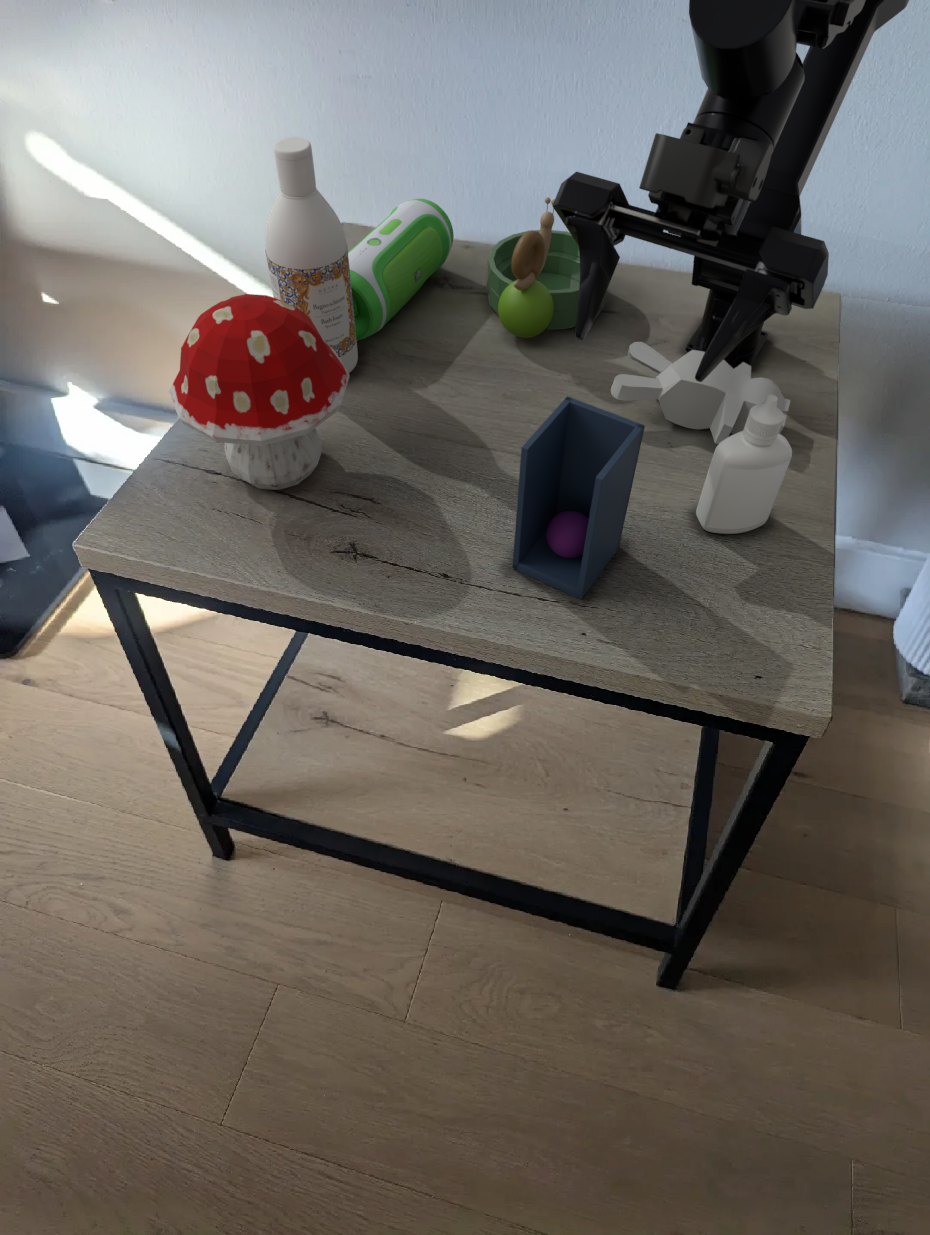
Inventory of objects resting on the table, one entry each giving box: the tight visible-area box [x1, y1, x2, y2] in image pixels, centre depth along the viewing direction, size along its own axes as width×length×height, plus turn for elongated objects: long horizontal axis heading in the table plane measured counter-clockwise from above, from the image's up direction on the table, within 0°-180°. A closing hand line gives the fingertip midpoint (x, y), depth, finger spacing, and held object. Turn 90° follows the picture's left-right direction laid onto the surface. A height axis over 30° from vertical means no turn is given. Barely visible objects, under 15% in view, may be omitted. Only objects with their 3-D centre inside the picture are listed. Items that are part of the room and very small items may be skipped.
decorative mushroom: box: [168, 293, 350, 491], centre depth 68 cm, size 14×14×15 cm
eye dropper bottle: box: [695, 395, 793, 535], centre depth 66 cm, size 4×6×12 cm
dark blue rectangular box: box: [512, 396, 646, 600], centre depth 63 cm, size 6×6×12 cm
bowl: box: [486, 229, 608, 331], centre depth 89 cm, size 12×12×4 cm
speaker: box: [348, 198, 454, 341], centre depth 87 cm, size 18×7×8 cm, turn 155°
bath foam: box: [264, 136, 359, 374], centre depth 75 cm, size 7×7×20 cm
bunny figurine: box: [610, 341, 791, 445], centre depth 77 cm, size 10×5×15 cm
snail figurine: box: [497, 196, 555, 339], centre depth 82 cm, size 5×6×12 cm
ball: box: [546, 511, 589, 558], centre depth 66 cm, size 4×4×4 cm
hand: (636, 358), depth 61 cm, fingers open, 9 cm apart
